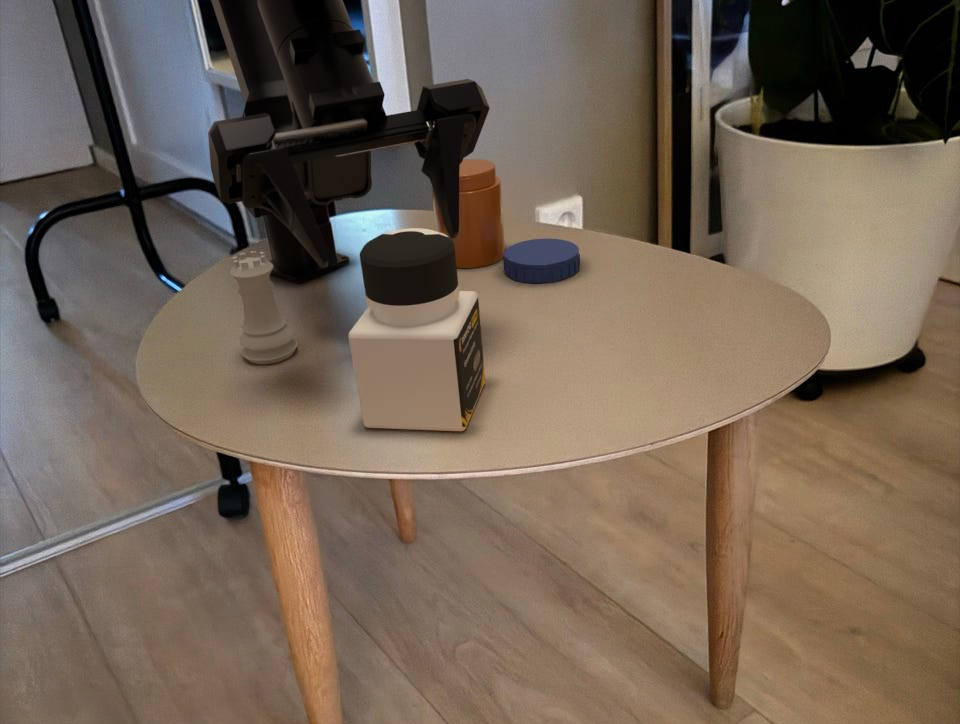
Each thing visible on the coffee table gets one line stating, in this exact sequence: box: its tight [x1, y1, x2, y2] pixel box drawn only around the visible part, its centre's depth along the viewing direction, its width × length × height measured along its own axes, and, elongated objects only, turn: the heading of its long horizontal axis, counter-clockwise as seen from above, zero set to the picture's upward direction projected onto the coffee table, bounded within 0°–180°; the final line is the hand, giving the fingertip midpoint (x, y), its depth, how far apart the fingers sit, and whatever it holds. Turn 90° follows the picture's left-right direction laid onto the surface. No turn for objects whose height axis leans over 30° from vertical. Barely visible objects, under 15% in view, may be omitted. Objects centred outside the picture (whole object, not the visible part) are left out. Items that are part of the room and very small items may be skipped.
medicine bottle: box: [348, 227, 486, 432], centre depth 61 cm, size 7×7×12 cm
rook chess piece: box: [229, 250, 298, 365], centre depth 71 cm, size 4×4×8 cm
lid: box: [502, 237, 581, 284], centre depth 83 cm, size 7×7×2 cm
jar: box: [430, 158, 506, 269], centre depth 86 cm, size 6×6×8 cm
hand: (391, 250), depth 61 cm, fingers open, 9 cm apart
